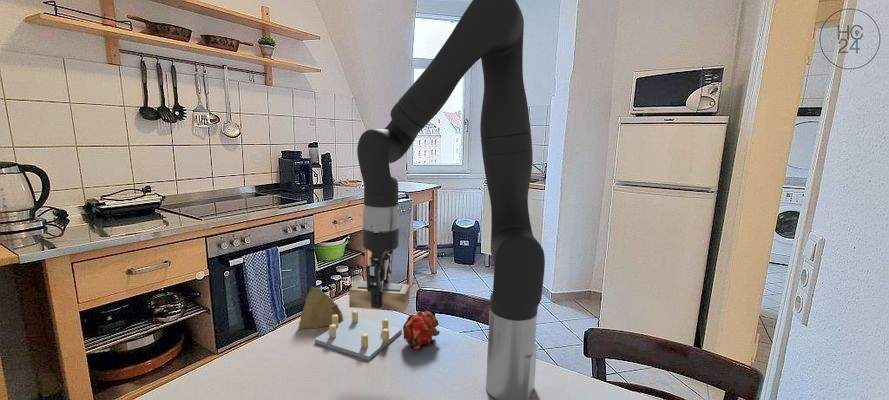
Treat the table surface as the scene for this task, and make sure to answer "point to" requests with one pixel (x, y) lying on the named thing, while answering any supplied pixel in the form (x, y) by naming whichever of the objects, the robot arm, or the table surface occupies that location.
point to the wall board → (358, 336)
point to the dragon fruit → (420, 329)
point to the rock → (318, 310)
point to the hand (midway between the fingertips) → (380, 301)
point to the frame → (392, 296)
